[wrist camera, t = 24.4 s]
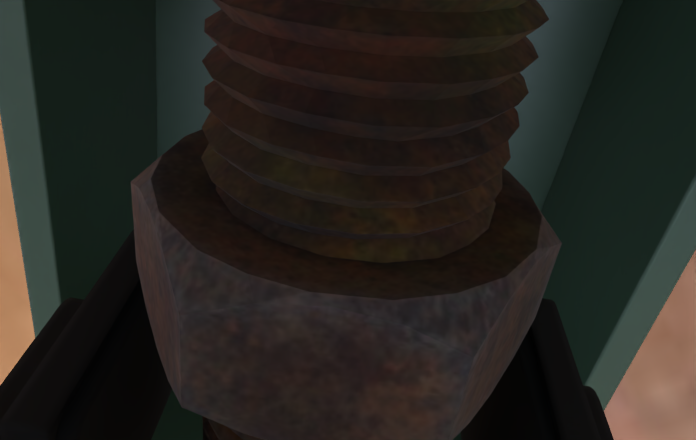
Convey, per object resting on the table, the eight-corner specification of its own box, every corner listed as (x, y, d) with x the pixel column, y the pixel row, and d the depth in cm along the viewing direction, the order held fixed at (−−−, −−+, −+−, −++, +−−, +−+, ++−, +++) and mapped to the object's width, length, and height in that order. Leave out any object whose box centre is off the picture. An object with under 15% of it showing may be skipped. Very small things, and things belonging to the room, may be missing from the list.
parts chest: (500, 349, 25) (535, 532, 18) (145, 289, 25) (52, 453, 18) (727, -216, 15) (991, -263, 8) (131, -332, 15) (-95, -477, 8)
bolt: (455, -168, 8) (334, 515, 16) (41, -243, 6) (129, 590, 14) (969, -149, 4) (463, 783, 11) (156, -391, 2) (191, 958, 9)
